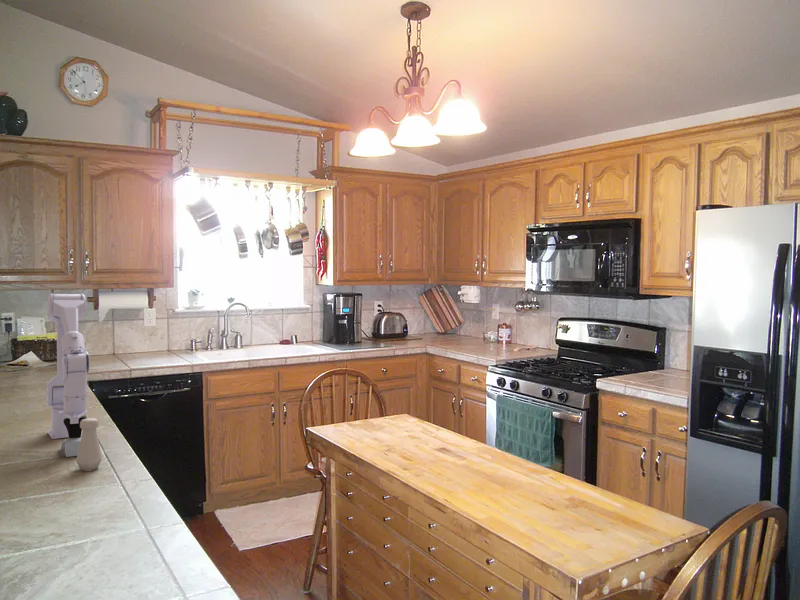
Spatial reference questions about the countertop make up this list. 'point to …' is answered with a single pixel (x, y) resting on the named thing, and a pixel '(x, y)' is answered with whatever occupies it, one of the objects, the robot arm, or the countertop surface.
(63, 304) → the robot arm
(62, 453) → the grey flat bars
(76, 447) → the block
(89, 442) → the salt shaker
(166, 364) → the countertop surface
